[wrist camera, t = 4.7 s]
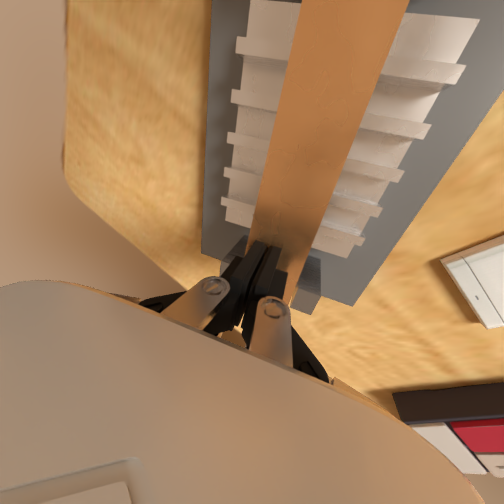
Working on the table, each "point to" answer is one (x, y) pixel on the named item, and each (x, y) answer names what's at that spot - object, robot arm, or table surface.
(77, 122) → the table surface
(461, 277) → the hard drive
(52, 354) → the robot arm
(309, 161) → the retention strap
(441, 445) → the calculator
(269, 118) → the heat sink
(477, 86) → the grey mounting plate
